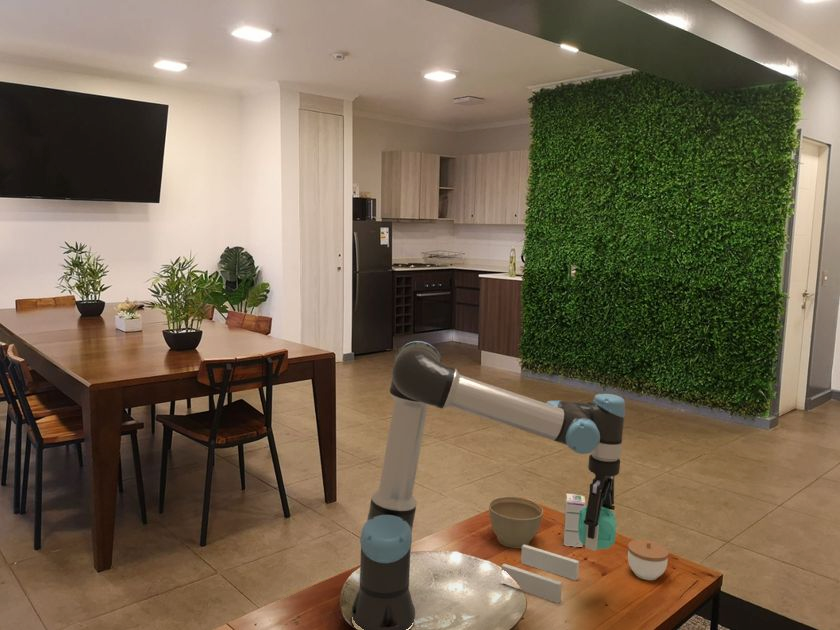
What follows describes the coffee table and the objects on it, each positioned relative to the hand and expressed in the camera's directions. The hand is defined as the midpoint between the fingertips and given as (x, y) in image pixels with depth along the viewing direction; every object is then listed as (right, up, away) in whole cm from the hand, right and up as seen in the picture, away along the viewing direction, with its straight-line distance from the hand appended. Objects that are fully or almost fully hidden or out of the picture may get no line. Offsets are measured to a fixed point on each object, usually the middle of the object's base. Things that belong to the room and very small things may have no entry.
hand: (597, 541), depth 165 cm
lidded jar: (+18, -15, +16) cm, 28 cm away
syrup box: (+1, -12, +33) cm, 35 cm away
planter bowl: (-17, -11, +32) cm, 38 cm away
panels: (-13, -14, +10) cm, 21 cm away
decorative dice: (0, 0, 0) cm, 1 cm away
